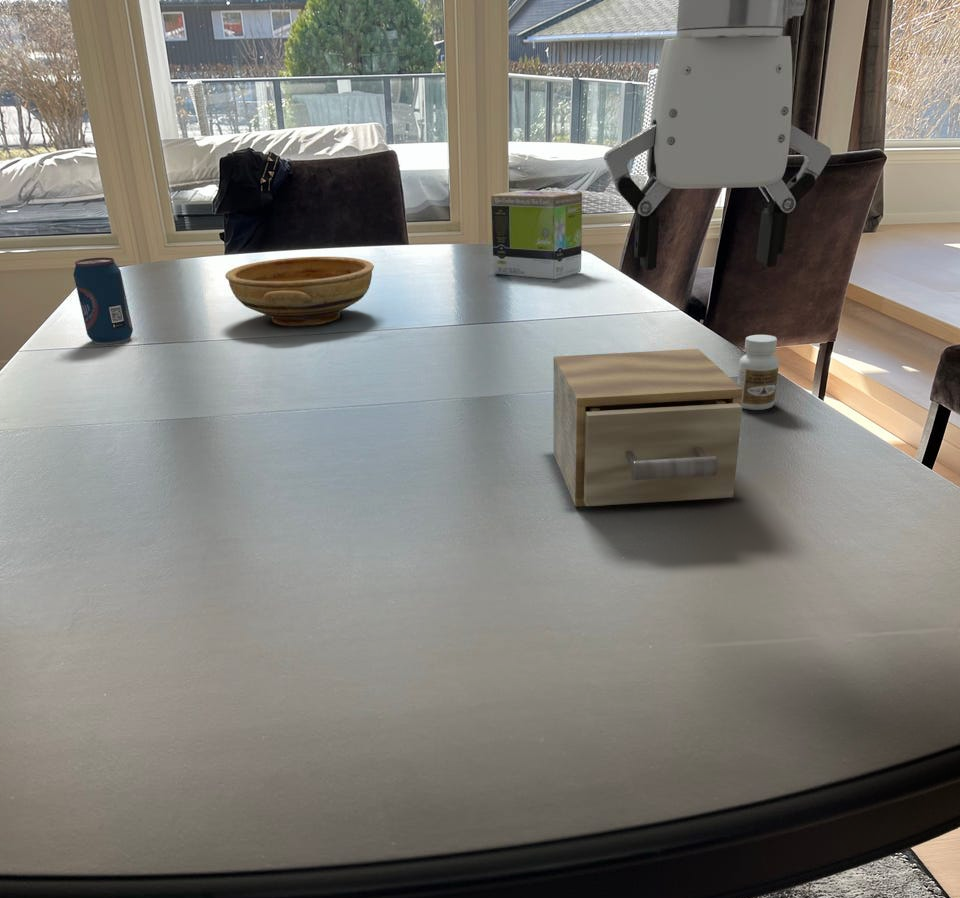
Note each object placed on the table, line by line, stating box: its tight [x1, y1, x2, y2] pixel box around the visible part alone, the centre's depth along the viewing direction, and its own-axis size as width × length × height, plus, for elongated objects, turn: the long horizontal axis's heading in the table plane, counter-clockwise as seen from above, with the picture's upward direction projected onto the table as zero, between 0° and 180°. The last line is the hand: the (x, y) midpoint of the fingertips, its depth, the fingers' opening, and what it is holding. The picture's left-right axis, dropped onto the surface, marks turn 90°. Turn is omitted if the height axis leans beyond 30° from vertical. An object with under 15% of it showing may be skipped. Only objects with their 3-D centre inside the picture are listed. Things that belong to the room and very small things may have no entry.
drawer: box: [584, 399, 743, 507], centre depth 89 cm, size 18×13×8 cm
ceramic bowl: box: [225, 256, 375, 327], centre depth 162 cm, size 30×24×8 cm
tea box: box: [490, 189, 583, 280], centre depth 189 cm, size 15×10×15 cm
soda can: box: [72, 257, 134, 346], centre depth 152 cm, size 7×7×12 cm
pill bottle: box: [736, 334, 780, 411], centre depth 112 cm, size 4×4×8 cm
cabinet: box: [552, 348, 743, 508], centre depth 93 cm, size 15×15×10 cm
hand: (706, 265), depth 79 cm, fingers open, 9 cm apart
